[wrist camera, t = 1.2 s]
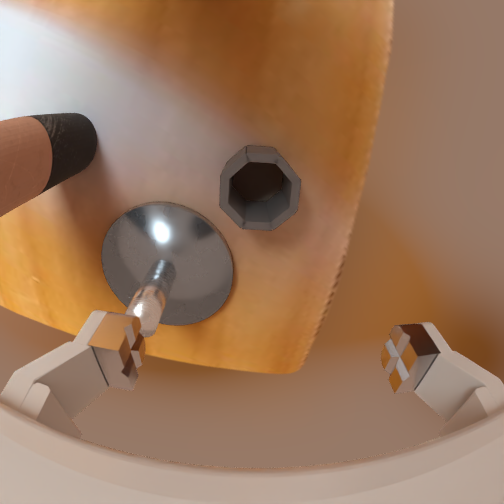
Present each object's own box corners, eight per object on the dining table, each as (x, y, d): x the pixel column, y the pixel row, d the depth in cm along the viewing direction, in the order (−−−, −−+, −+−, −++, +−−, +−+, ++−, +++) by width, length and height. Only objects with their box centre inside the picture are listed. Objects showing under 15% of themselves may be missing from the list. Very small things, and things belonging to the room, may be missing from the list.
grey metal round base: (97, 201, 28) (46, 238, 19) (236, 204, 29) (230, 248, 20) (117, 312, 36) (90, 366, 27) (231, 323, 36) (227, 386, 27)
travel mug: (41, 132, 24) (-94, 181, 6) (85, 98, 23) (-70, 117, 5) (62, 186, 27) (-63, 270, 10) (109, 157, 26) (-37, 232, 8)
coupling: (227, 144, 26) (221, 151, 21) (292, 148, 26) (303, 157, 21) (224, 205, 29) (218, 227, 24) (286, 209, 29) (294, 232, 24)
